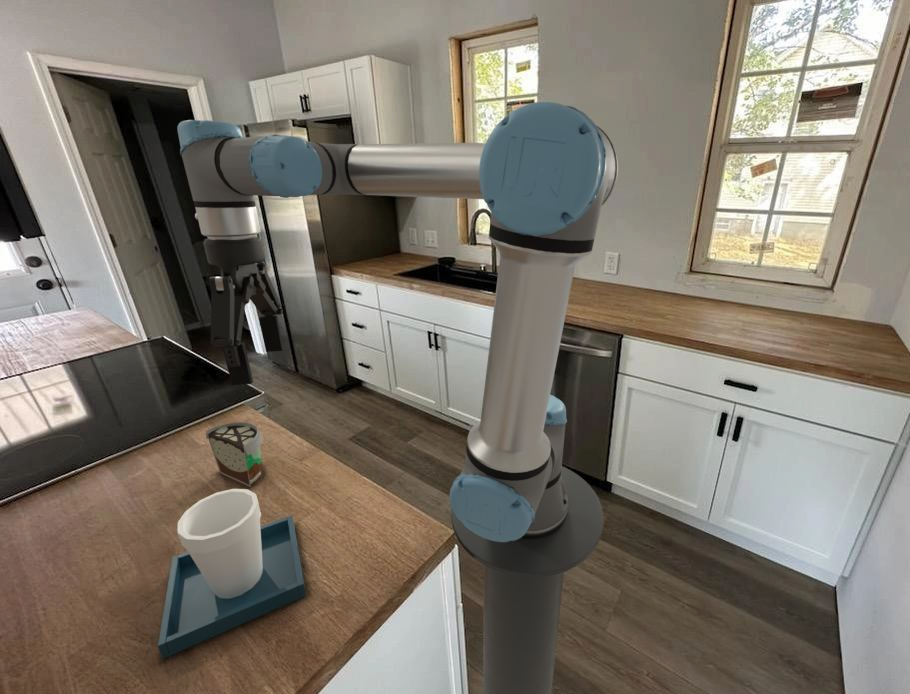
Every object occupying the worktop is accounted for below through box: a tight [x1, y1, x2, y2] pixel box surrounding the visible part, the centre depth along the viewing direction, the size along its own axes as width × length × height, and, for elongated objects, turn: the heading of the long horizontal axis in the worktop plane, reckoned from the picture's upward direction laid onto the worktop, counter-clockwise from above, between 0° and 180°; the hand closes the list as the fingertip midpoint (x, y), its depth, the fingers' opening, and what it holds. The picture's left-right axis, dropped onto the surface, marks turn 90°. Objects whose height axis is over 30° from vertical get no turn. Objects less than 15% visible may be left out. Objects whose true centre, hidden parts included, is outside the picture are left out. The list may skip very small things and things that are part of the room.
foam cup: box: [177, 488, 263, 599], centre depth 60 cm, size 10×9×13 cm
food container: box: [205, 421, 264, 488], centre depth 83 cm, size 12×6×10 cm, turn 66°
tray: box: [157, 514, 307, 660], centre depth 62 cm, size 17×15×2 cm
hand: (260, 365), depth 69 cm, fingers open, 13 cm apart
